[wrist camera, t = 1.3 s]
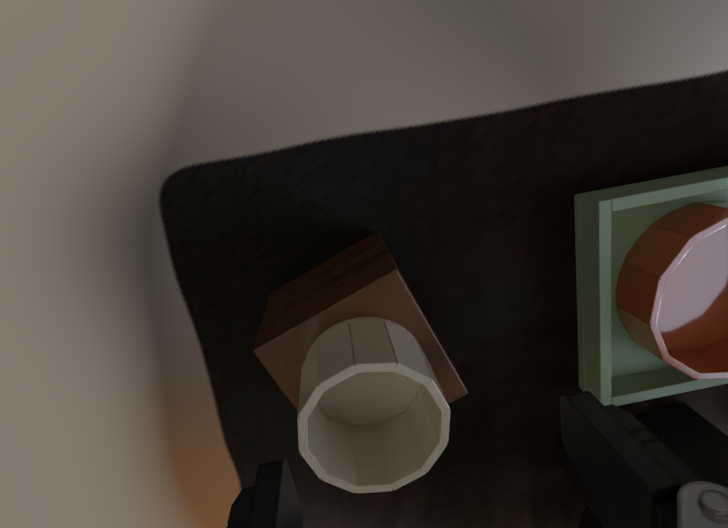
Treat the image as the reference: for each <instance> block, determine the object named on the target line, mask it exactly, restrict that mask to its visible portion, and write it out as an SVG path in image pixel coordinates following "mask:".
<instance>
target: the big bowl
mask: <svg viewBox="0 0 728 528" xmlns="http://www.w3.org/2000/svg"><path fill="white" fill-rule="evenodd" d="M616 305H617V311H618V314H619V317H620V320H621V322H622V324H623V326H624V328H625V329H626V331H627V332H628V333H629V335H630V336H631V337H632V339H633V341H635V342H636V343H638V344H639V345H641V346H642V347H644V348H645V349H646V350H648V351H649V352H651V353H652V354H654V355H655V356H657V357H658V358H659V359H661V360H662V361H664V362H666V363H667V364H669V365H671V366H672V367H674V368H676V369H678V370H679V371H681V372H683V373H685V374H686V375H688V376H690V377H691V378H693V379H696V380H703V379H724V378H728V202H724V201H701V202H696V203H691V204H688V205H685V206H682V207H680V208H677V209H675V210H673V211H671V212H669V213H668V214H666V215H664V216H663V217H661V218H660V219H658V220H657V221H656V222H654V223H653V224H652V225H651V226H650V227H649V228H648V229H646V230H645V231H644V232H643V233H642V234H641V236H640V237H639V238H638V239H637V241H636V242H635V243H634V244H633V246H632V247H631V249H630V250H629V252H628V254H627V256H626V258H625V260H624V262H623V264H622V267H621V269H620V272H619V276H618V280H617V286H616Z"/></svg>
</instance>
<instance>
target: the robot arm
mask: <svg viewBox="0 0 728 528" xmlns="http://www.w3.org/2000/svg"><path fill="white" fill-rule="evenodd" d="M560 416H561V429H562V441H563V445H564V449H565V451H566V454H567V456H568V458H569V460H570V462H571V463H572V464H573V466H574V467H575V469H576V470H577V471H578V473H579V474H580V475H581V477H582V478H583V479H584V481H585V482H586V483H587V485H588V486H589V487H590V489H591V490H592V492H593V493H594V494H595V496H596V497H597V498H598V500H599V501H600V502H601V504H602V505H603V506H604V508H605V509H606V510H607V512H608V513H609V515H610V516H611V517H612V519H613V520H614V521H615V523H616V524H617V525H618V527H619V528H728V487H726V486H723V485H720V484H717V483H713V482H707V481H703V480H702V479H701V478H700V477H699V476H698V475H697V474H696V473H695V472H694V471H693V470H692V469H690V468H689V467H688V466H687V465H686V464H685V463H684V462H683V461H682V460H681V459H680V458H679V457H678V456H676V455H675V454H674V453H673V452H672V451H671V450H670V449H669V448H668V447H667V446H666V445H665V444H664V443H663V442H661V441H660V440H658V439H657V437H656V436H655V435H654V434H653V433H652V432H651V431H650V430H649V429H648V430H647V429H646V427H645V426H644V425H643V424H642V423H641V422H640V421H639V420H638V419H637V418H636V417H635V416H634V415H632V414H631V413H629V412H627V411H625V410H623V409H621V408H619V407H617V406H615V405H613V404H611V405H607V406H604V405H603V404H602V403H601V402H600V401H599V400H598V399H597V398H596V397H595V396H594V395H593V394H592V393H591V392H589V391H582V392H578V393H573V394H569V395H565V396H561V397H560ZM226 528H302V511H301V505H300V501H299V497H298V494H297V491H296V488H295V484H294V481H293V478H292V475H291V472H290V468H289V465H288V463H287V461H286V459H283V460H279V461H274V462H270V463H265V464H261V465H259V467H258V470H257V475H256V481H255V486H252V487H248V488H244V489H242V490H241V492H240V494H239V495H238V497H237V498H236V500H235V501H234V503H233V504H232V506H231V511H230V515H229V519H228V526H227V527H226Z"/></svg>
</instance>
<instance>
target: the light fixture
mask: <svg viewBox="0 0 728 528" xmlns="http://www.w3.org/2000/svg"><path fill="white" fill-rule="evenodd" d="M635 417H636V418H637V419H638V420H639V421H640V422H641V423H642V424H643V425H644V426H645V427H646V429H647V430H648V429H649V430H650V431H651V432H652V433H653V434H654V435H655V436H656V437H657V439H658V440H660V441H661V442H663V443H664V444H665V445H666V446H667V447H668V448H669V449H670V450H671V451H672V452H673V453H674V454H675V455H676V456H678V457H679V458H680V459H681V460H682V461H683V462H684V463H685V464H686V465H687V466H688V467H689V468H690V469H692V470H693V471H694V472H695V473H696V474H697V475H698V476H699V477H700V478H701V479H702V480H703V481H707V482H713V483H717V484H720V485H723V486H726V487H728V436H727V435H725V434H724V433H723V432H722V431H720V430H719V429H718V428H716V427H715V426H714V425H712V424H711V423H710V422H708V421H707V420H706V419H705V418H703V417H702V416H701V415H699V414H698V413H697V412H695V411H694V410H693V409H692V408H690V407H689V406H688V405H686V404H685V403H679V404H676V405H672V406H669V407H665V408H662V409H658V410H655V411H651V412H648V413H644V414H641V415H637V416H635ZM557 446H558V452H559V458H560V465H561V468H562V470H563V471H564V473H565V474H566V475H567V477H568V478H569V480H570V481H571V483H572V484H573V485H574V487H575V488H576V490H577V491H578V493H579V494H580V495H581V497H582V498H583V500H584V501H585V503H586V504H587V506H588V508H587V510H586V512H585V513H584V515H583V518H582V520H581V524H580V528H619V527H618V525H617V524H616V523H615V521H614V520H613V519H612V517H611V516H610V515H609V513H608V512H607V510H606V509H605V508H604V506H603V505H602V504H601V502H600V501H599V500H598V498H597V497H596V496H595V494H594V493H593V492H592V490H591V489H590V487H589V486H588V485H587V483H586V482H585V481H584V479H583V478H582V477H581V475H580V474H579V473H578V471H577V470H576V469H575V467H574V466H573V464H572V463H571V462H570V460H569V458H568V456H567V454H566V451H565V449H564V445H563V441H562V437H560V438H557Z"/></svg>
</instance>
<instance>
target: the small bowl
mask: <svg viewBox="0 0 728 528" xmlns="http://www.w3.org/2000/svg"><path fill="white" fill-rule="evenodd" d="M450 412H451V411H450V407H449V405H448V403H447V400H446V398H445V396H444V394H443V392H442V389H441V387H440V385H439V383H438V380H437V378H436V376H435V374H434V372H433V369H432V367H431V365H430V363H429V361H428V359H427V357H426V355H425V354H424V352H423V350H422V348H421V346H420V344H419V343H418V341H417V340H416V338H415V337H414V336H413V335H412V334H411V333H410V332H409V331H408V330H406V329H405V328H404V327H402V326H400V325H399V324H397V323H395V322H392V321H390V320H387V319H383V318H378V317H357V318H352V319H348V320H345V321H342V322H340V323H338V324H336V325H333V326H332V327H330V328H329V329H327V330H326V331H325V332H323V333H322V334H321V335H320V336H319V337H318V338H317V339H316V340H315V341H314V343H313V344H312V346H311V347H310V349H309V351H308V353H307V355H306V358H305V361H304V363H303V365H302V369H301V381H300V393H299V405H298V416H297V423H298V445H299V451H300V454H301V455H302V457H303V458H304V459H305V461H306V462H307V463H308V464H309V466H310V467H311V468H312V470H313V471H314V472H315V474H316V475H317V476H318V477H319V479H321V480H322V481H324V482H327V483H329V484H332V485H334V486H337V487H339V488H342V489H344V490H347V491H349V492H352V493H354V492H355V493H356V494H357V493H372V492H387V491H392V490H396V489H398V488H400V487H402V486H404V485H406V484H408V483H410V482H411V481H413V480H415V479H417V478H419V477H421V476H423V475H425V474H426V472H428V471H429V470H430V468H431V467H432V466H433V464H434V463H435V462H436V460H437V459H438V457H439V456H440V455H441V453H442V452H443V450H444V449H445V448H446V446H447V443H448V440H449V426H450Z"/></svg>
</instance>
